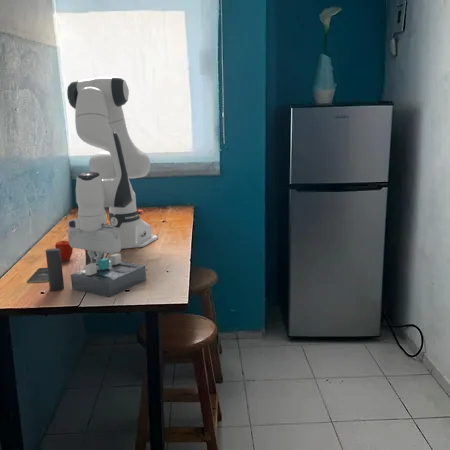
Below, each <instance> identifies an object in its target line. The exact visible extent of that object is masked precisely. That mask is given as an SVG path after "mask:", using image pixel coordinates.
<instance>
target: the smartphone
mask: <svg viewBox="0 0 450 450" xmlns="http://www.w3.org/2000/svg"><path fill="white" fill-rule="evenodd" d="M48 282H49V276H48V267H40V268H37V270H36V271H35V272H33V273H32V275H31V276H30V277H29V278H28V279H27V280H26V283H27V284H34V283H35V284H36V283H37V284H39V283H48Z"/></svg>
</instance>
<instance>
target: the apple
mask: <svg viewBox="0 0 450 450" xmlns="http://www.w3.org/2000/svg"><path fill="white" fill-rule="evenodd" d="M55 248H58V249H60V253H61V262H66V261H69V260H70V259H71V257H72V254H73V248H72V247H71V246H70V245H69V241H68V240H59V241H57V242H56V243H55Z"/></svg>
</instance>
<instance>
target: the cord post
mask: <svg viewBox="0 0 450 450" xmlns="http://www.w3.org/2000/svg"><path fill="white" fill-rule="evenodd" d="M45 255H46V264H47V265H46V266H47V267H46V268H48V276H49V283H48V284H49V291H51V292H59V291H63V290H64V289H65V283H64V275H63V274H64V273H63V265H62V262H63V261H61V253H60V249H58V248H56V247H55V248H49V249H46V250H45Z"/></svg>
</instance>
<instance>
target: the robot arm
mask: <svg viewBox="0 0 450 450" xmlns="http://www.w3.org/2000/svg"><path fill="white" fill-rule="evenodd" d="M66 91H67V92H66V94H67V101H68V103H69V105H70V106H71V107H72V108H73V109H74V111H75V113H74V117H75V119H74V120H75V121H74V122H75V131H76V133H77V136H78V138H80V140H82V141H83V142H84V143H86V144H87V145H90V146H91V147H95V148H98V149H101V150H103V151H98V152H95V153H93V154H92V155H90V158H89V160H88V167H89V168H88V169H89V171H83V172H80V173H78V175H77V176H76V183H75V188H74V198H75V199H74V200H75V203H76V204H77V207H78V211H77V217H76V218H73V219H70V220H68V221H66V224H67V227H68V230H67V239H68V240H67V241H69V245H70V246H71V247H72V248H74V249H79V250H84V251H85V250H87V253H88V255H89V257H90V258H91V263H95V264H98V260H100V259H101V257H102V255H103V253H104V254H109V255H110V254H111V255H113V254H116V253H117V254H119V253H120V252H121V250H122V249H131V248H143V247H146V246H147V245H148V244H150V243H152V242H154V241H155V240H157V239H159V238H158V236H157V235H156V234H153V233H152V227H151V225H150V224H149V223H148V222H146V221H144V220H143V219H142V218H141V217H140V216H142V215H144V210H143V209H138V210H137V198H136V197H137V196H136V193H135V191H134V189H133V186H132V183H131V181H130V179H137V178H139V179H140V178H143V177H146V176H148V174H149V172H150V170H151V160H150V158H149V155H148V154H147V153H145V152H143V151H142V150H141V149H140V148H138V147H137V146H136V145H135V143H134V142H133V141H132V138H130V135H129V132H128V127H127V124H126V119H125V115H124V111H123V110H124V109H123V107H122V106H124V105H126V103H127V102H128V100H129V94H130V91H129V87H128V84H127V82H126V80H125V79H124V78H122V77H119V76H111V77H110V76H109V77H108V76H104V77H103V76H99V77H98V76H97V77H94V78H88V79H82V80H80V79H79V80H75V81H72V82H70V84H69V85H68V86H67V89H66ZM105 208H109V209H108V210H109V212H108V215H107V218H108V221H109V224H108V222H107V221H106V214H107V212H106V209H105ZM94 252H96V254H97V256H95V254H94Z"/></svg>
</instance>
